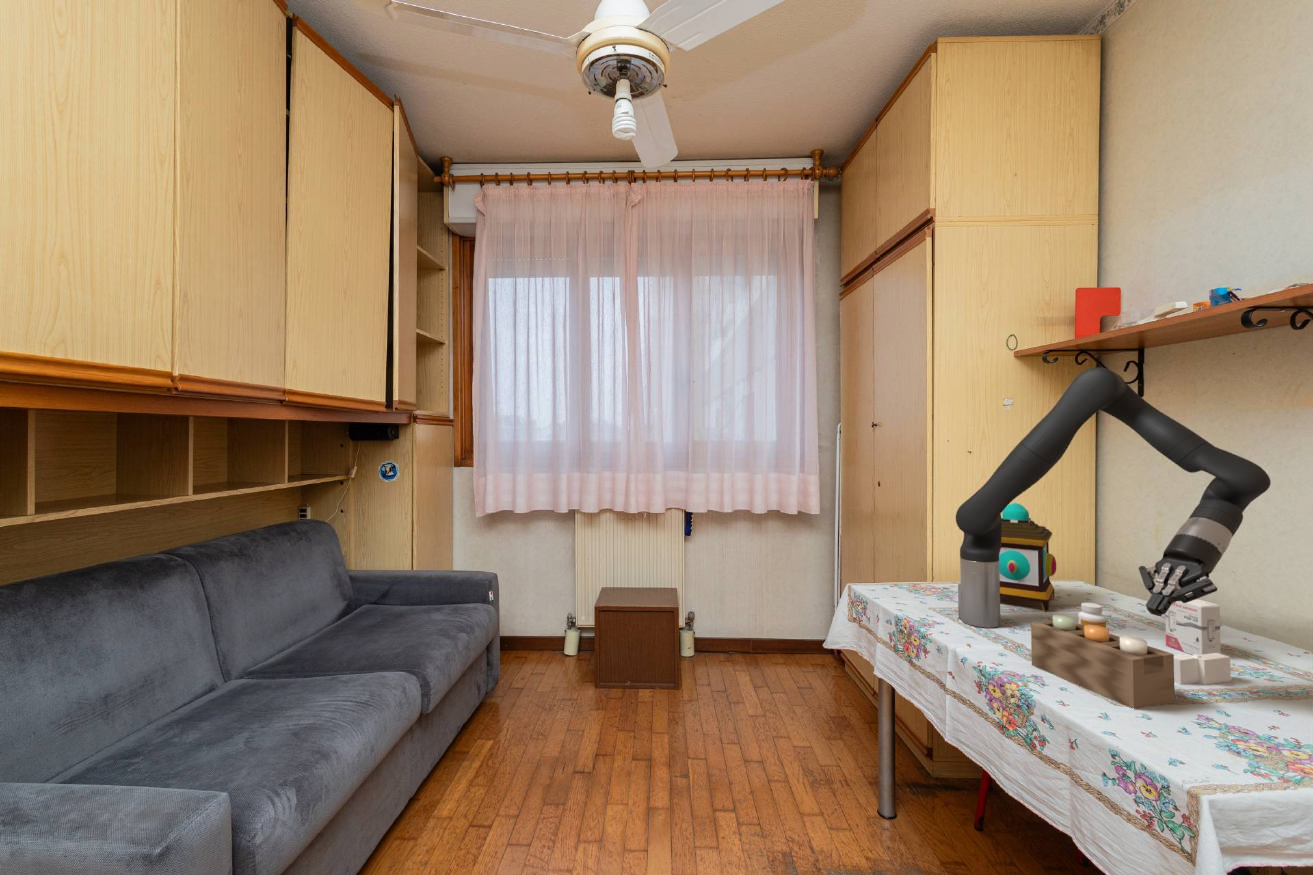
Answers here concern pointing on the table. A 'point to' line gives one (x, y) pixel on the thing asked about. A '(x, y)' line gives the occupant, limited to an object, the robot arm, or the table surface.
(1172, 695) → the wooden egg holder
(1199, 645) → the ink box
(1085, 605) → the supplement bottle
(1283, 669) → the table surface
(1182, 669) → the white stepped block
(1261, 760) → the table surface
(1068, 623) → the sage egg
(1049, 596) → the decorative lantern
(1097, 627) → the orange egg
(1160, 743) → the table surface
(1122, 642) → the cream egg
